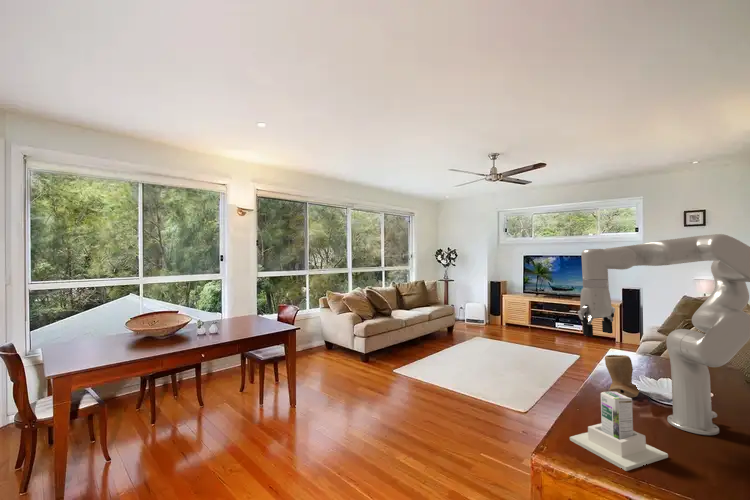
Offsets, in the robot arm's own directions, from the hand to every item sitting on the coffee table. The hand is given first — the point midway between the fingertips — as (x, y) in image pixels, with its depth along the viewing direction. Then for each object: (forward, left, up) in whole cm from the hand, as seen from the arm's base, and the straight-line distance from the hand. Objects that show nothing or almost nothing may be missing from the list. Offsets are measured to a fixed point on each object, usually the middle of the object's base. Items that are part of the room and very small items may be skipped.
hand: (597, 334), depth 119 cm
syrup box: (+11, +13, -29) cm, 34 cm away
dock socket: (+11, +13, -30) cm, 35 cm away
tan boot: (-34, -16, -30) cm, 48 cm away
